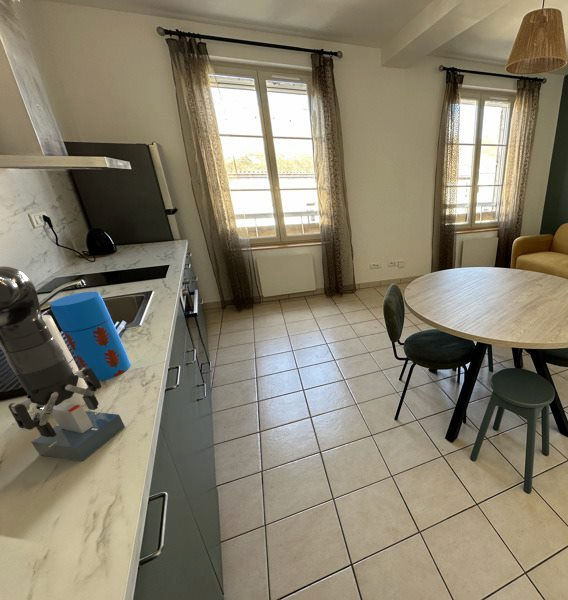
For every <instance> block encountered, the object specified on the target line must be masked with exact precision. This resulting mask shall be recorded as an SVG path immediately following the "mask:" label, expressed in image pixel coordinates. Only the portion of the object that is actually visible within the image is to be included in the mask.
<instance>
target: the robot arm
mask: <svg viewBox="0 0 568 600" xmlns="http://www.w3.org/2000/svg"><path fill="white" fill-rule="evenodd" d="M36 289H37V288H36V287H35V284H34V283H33V280H31V278H30V277H29V276H28V275H27V274H25V273H24V272H23V271H21V270H19V269H18V268H15V267H11V266H6V265H5V266H3V265H2V266H0V348H1V351H3V354H4V356H5V358H6V361H7V363H8V365H9V367H10V369H11V370H12V372H13V373H14V375H15V376H16V378H17V380H18V381H19V383H20V384H21V387H22V388H23V389H24V391H25V392H26V395H27V396H26V398H25V399H22V400H20V401H18V402H11V403H9V405H8V410H9V411H10V414H11V415H12V417H13V419H14V420H15V422H16V424H17V426H18V428H20V429H25V430H27V431H32V430H34V429H35V428H36V430H37V431H38V432H39V435H40V436H41V435H42V436H45V437H52V438H53V437H54V436H56V433H55V431H54V429H53V426H52V425H51V423H50V422H49V421H48V420H49V417H50V415H52V414H51V413H52V410H53V407H54V406H57V405H59V404H60V403H62V402H63V401H64V400H66V399H69V398H71V397H73V396H72V395H73V394H74V393H77V394H81V395H84V396H83V397H82V398H83V400H84V401H85V403H86V404H85V405H86V407H87V408H88V410H90V411H96V410H97V409H99V407H98V406H99V403H100V402H99V401H98V399H97V397H96V395H95V394H96V393H95V392H96V391H97V390H100V389H101V388H102V384H101V381H99V380H98V379H97V377H96V375H95V374H94V372H93V370H92V369H91V368H86V367H81V366H80V367H78V369H79V371H78V372H76V373H73V372H72V369H71V367H70V365H69V363H68V361H67V359H66V357H65V355H64V354H63V350H62V349H61V348H60V346H59V344H58V343H57V342H56V341H55V339H54V338H53V336H52V335H51V333H50V331H49V329H48V327H47V325H46V323H45V322H44V320H43V318H42V315H43V314H42V308H41V304H40V301H39V300H40V299H39V296H38V293H37V290H36ZM78 377H80V378H83V379H84V380H85V382H86V384H87V386H88V387H87V388H86V389H84V388H80V387H77V382H78V379H79V378H78ZM31 404H34V408H33V411H32V412H33V415H32V416H31V414H30V413H29V410H30V405H31Z"/></svg>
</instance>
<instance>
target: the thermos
mask: <svg viewBox="0 0 568 600" xmlns="http://www.w3.org/2000/svg"><path fill="white" fill-rule="evenodd" d="M49 306H50V309H51V312H52V314H53V316H54V318H55V320H56V322H57V323H58V326H59V327H60V330H61V331H62V333H63V335H64V337H65V339H66V341H67V342H68V344H69V347H70V348H71V350H72V352H73V354H74V356H75V358H76V360H77V362H78V364H79V366H80V367H86V368H91V369H92V370H93V372H94V374H95V375H96V377H97V379H98V380H99V382H101V381H100V380H103V381H106V380H110V379H112V378H115V377H117V376H119V375H121V374H123V373H125V372H126V371H127V370H129V368H130V367H131V362H130V358H129V356H128V354H127V351H126V348H125V346H124V344H123V342H122V340H121V337H120V335H119V333H118V331H117V329H116V326H115V324H114V321H113V319H112V317H111V314H110V312H109V310H108V307H107V306H106V303H105V301H104V299H103V297H102V295H101V294H100V292H98V291H83V292H78V293H73V294H69V295H65V296H62V297H59V298H57V299H54V300H52V301H51V302H50V303H49ZM105 379H106V380H105Z"/></svg>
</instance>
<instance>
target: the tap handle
mask: <svg viewBox="0 0 568 600" xmlns="http://www.w3.org/2000/svg"><path fill="white" fill-rule="evenodd" d="M85 411H86V410H85V408H84V407H83V406H80V405H75V404H69V403H64V402H62V403H60V404H59V405H57V406H54V407H53V410H52V413H51V414H50V415H52V417H53V419H54V421H55V422H56V423H57V424H58V425H59V427H60V429H65V430H70V431H74V432H79V433H84V432H85V431H87V430H88V429H90V428H91V427H93V425H92V423H91V421H90V419H89V418H88V416H87V414H86V412H85ZM57 424H56V425H57Z"/></svg>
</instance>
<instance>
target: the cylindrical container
mask: <svg viewBox="0 0 568 600" xmlns="http://www.w3.org/2000/svg"><path fill="white" fill-rule="evenodd" d="M41 315H42V318H43V320H44V322H45V323H46V325H47V327H48V329H49V331H50V333H51V335H52V336H53V338H54V339H55V341H56V342H57V343H58V344H59V346H60V348H61V349H62V350H63V354H64V355H65V357H66V359H67V361H68V363H69V365H70V367H71V369H72V372H73V373H76V372H78V371H79V367H78V365H77V363H76V361H75V359H74V358H73V355H72V353H71V351H70V350H69V349H70V348H68V346H67V344H66V341H65V340H64V338H63V336H62V334H61V332H60V330H59V327H58V326H57V324H56V323H55V320H54V319H53V317H52V315H50V314H41ZM78 378H79V379H78V382H77V387H80V388H84V389H86V388H87V387H88V385H87V384H86V382H85V380H84V379H83V378H80V377H78ZM72 396H73V397H71V398H69V399H66V400H64V401H63V402H64V403H69V404H75V405H80V406H82V407H83V406H85V405H86V403H85V401H84V400H83V398H82V397H83V396H84V395H81V394H77V393H74V394H73V395H72Z"/></svg>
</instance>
